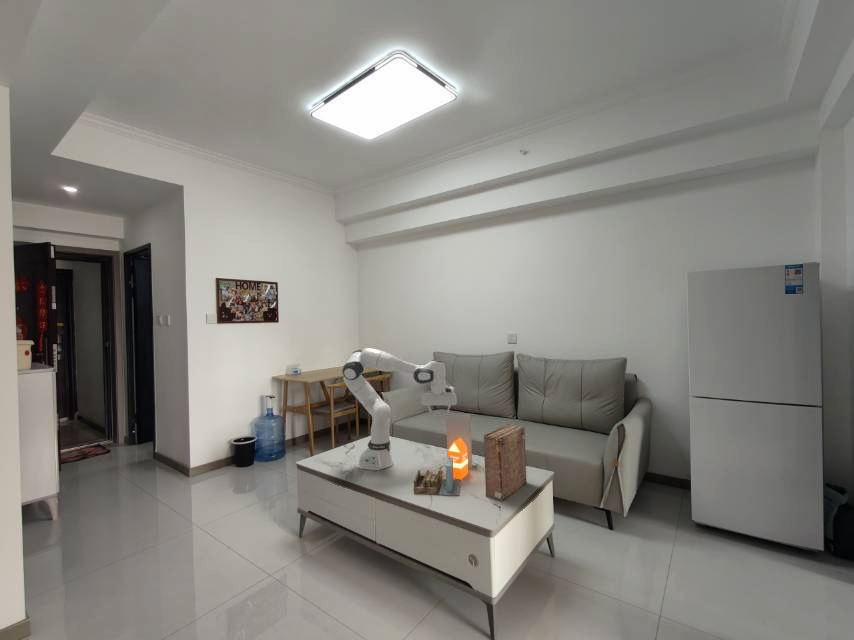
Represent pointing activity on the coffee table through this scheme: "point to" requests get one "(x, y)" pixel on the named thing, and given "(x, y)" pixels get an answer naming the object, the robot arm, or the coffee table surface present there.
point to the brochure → (459, 432)
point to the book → (504, 461)
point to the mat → (454, 490)
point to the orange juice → (459, 459)
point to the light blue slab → (449, 474)
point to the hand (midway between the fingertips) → (439, 412)
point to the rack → (425, 489)
